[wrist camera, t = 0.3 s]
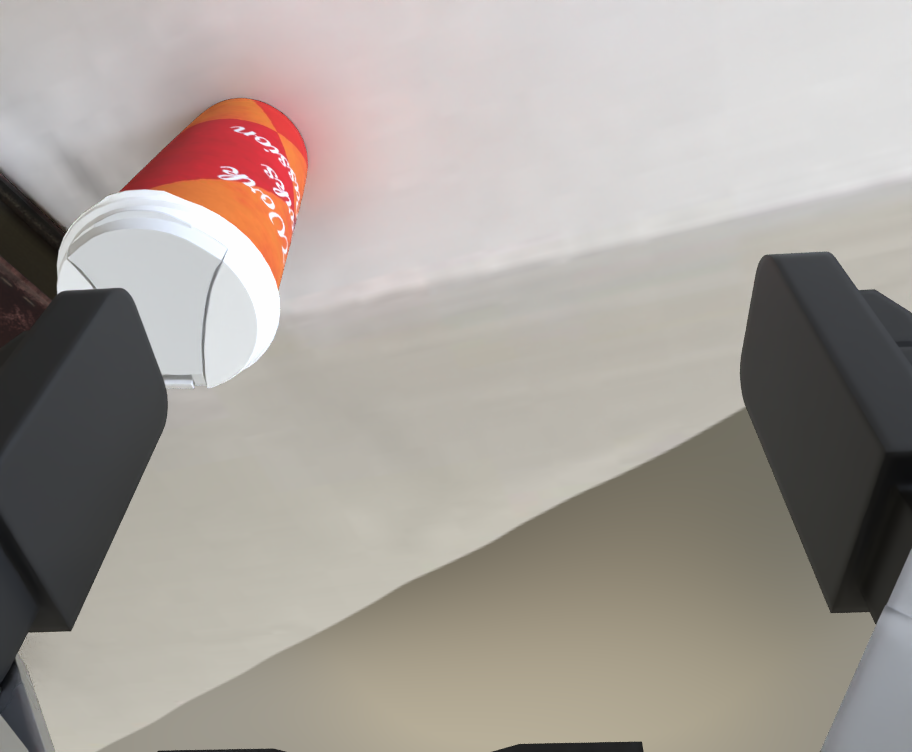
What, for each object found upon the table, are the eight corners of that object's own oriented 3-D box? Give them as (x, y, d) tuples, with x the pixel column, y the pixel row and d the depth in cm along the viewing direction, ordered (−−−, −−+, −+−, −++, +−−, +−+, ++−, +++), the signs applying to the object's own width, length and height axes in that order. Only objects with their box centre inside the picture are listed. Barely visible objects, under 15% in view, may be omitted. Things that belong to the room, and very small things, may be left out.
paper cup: (337, 229, 41) (285, 405, 30) (185, 227, 41) (77, 402, 30) (322, 71, 36) (254, 209, 25) (151, 69, 36) (7, 205, 25)
